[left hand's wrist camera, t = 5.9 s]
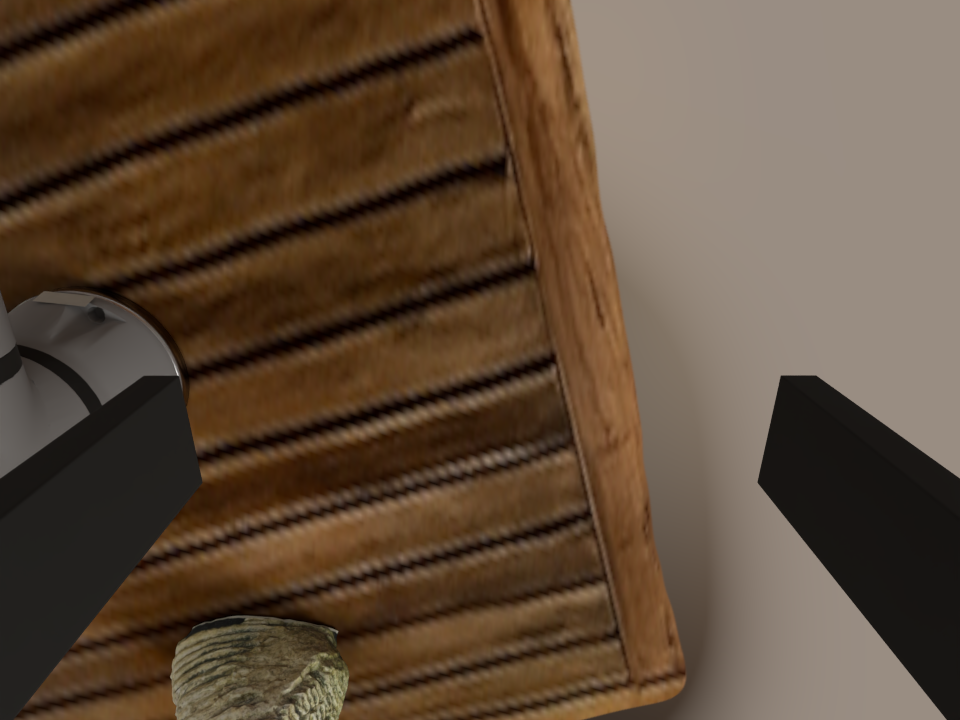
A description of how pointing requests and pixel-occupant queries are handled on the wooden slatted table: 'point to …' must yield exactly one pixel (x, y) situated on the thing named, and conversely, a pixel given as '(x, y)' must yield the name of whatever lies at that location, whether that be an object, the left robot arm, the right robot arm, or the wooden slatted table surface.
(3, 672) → the left robot arm
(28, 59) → the wooden slatted table surface
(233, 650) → the fossil
